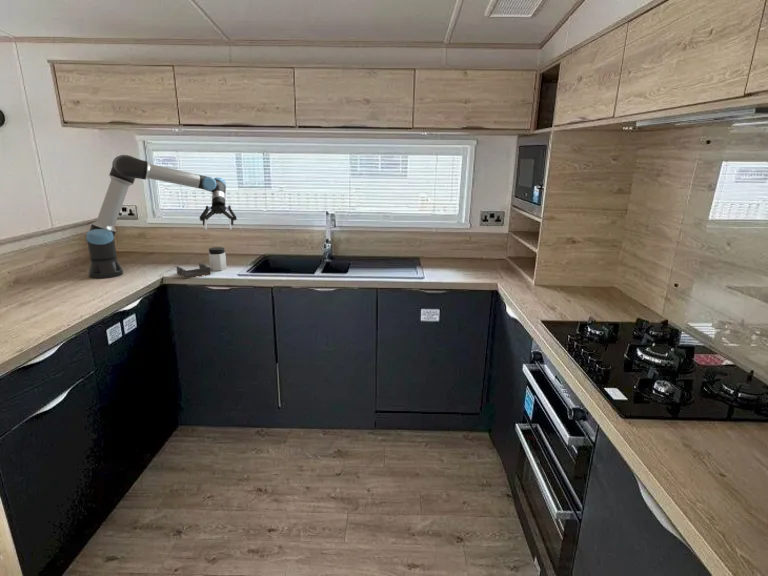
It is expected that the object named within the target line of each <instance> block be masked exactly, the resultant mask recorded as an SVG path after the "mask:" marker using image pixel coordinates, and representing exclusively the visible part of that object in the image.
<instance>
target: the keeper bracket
mask: <svg viewBox="0 0 768 576" xmlns="http://www.w3.org/2000/svg"><path fill="white" fill-rule="evenodd" d="M198 267H199V268H193V269H187V270H186V269H185V268H182V267H180V266H176V274H177V273H178V274H177V275H179V274H180V275H182V276H184V277H185V278H184V277H183V278H184V279H191V277H193V278H197V277H196V276H199V277H203V276H202V275H205V276H210V274H211V275H212V272H211V271H212V270H211V269H210V266H208V265H206V264H203V263H201V262H199V263H198ZM180 275H179V276H180ZM182 276H181V277H182Z"/></svg>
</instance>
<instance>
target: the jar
mask: <svg viewBox="0 0 768 576" xmlns="http://www.w3.org/2000/svg"><path fill="white" fill-rule="evenodd" d="M225 251H226V250H225V248H224V247H222V246H215V247H209V248H208V260H209V267H210V271H213V272H223V271H225V270H227V258H226V257H227V256H226V252H225Z"/></svg>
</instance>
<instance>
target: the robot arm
mask: <svg viewBox="0 0 768 576" xmlns="http://www.w3.org/2000/svg"><path fill="white" fill-rule="evenodd" d="M108 176H109V178H110V182H109V184H108V188H107V189H106V193H105V196H104V199H103V202H102V204H101V206H100V211H99V212H98V216H97V218H96V221H94V222H92V223H91V225H90V228H89V230H88V231H87V232H86V233H85V235H86V236H85V241H86V244H87V248H88V249H87V250H88V253H89V259H90V265H89V268H88V276H89V278H90V279H109V278H115V277H118V276H119V277H120V276H121V275H123V273H124V271H123V268H122V266H121V264H120V263H119V261H118V257H117V252H116V246H115V245H116V244H115V236H116V233H117V230H116V227H115V226H116V224H117V221H118V218H119V215H120V212H121V209H122V206H123V204H124V201H125V199H126V196H127V193H128V190H129V187H130V186H132V185H134V183H135V181H136V179H140V180H148V179H150V180H156V181H160V182H164V183H165V182H166V183H170V184H175V185H180V186H185V187H190V188H195V189H200V190H203V191H204V190H205V191H207V192H211V193H212V194H211V206H209V205H206V206H205V208H204V210H203V212H202V213H201V214H200V216H199V220H200V222H201V221H202V225H203V227H204V228H203V229H204V231H205V232H207V229H208V226H207V225H208V220H209V219H210V218H211V217H212V216H214V215H215V214H216V215H218V214H219V215H222V214H223V215H225V217H227V218H228V219H229V224H228V225H229V230H230V231H232V226H234V221H237V220H238V219H237V215H236V214H235V212H234V211H233V210H232V208H231V207H232V206H231V205H227V206H226V189H227V185H226V181H225V179H224V178H222V177H215V178H213V177H211V176H206V175H201V174H199V173H192V172H188V171H183V170H178V169H174V168H169V167H165V166H161V165H156V164H152V163H149V162H148V161H147V160H143V159H140V158H137V157H134V156H132V155H128V154H121V155H117V156H116V157H115V158H114V159H113V160H112V165H111V169H110V172H109V174H108ZM227 211H228V212H229V213H228V212H227Z"/></svg>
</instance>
